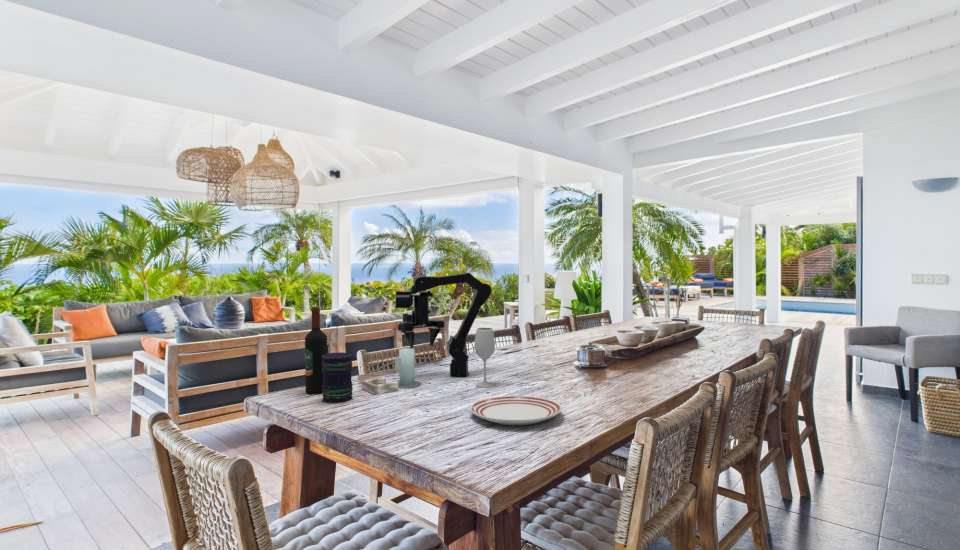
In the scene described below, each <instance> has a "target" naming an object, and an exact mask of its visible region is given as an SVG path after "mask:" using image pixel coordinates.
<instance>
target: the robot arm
mask: <svg viewBox="0 0 960 550" xmlns="http://www.w3.org/2000/svg"><path fill="white" fill-rule="evenodd" d="M464 283H465V284H467V285H468V286H469V287H470V288H471V289H473V293H472V298H471V302H470V305H469V307H468V309H467V312H466V314H465V315H464V317H463V320H462V322H461V324H460V326H459V328H458V330H457V332H456V333H455V335H451V334H450V336H449V339H448V341H447V342H446V351H447V353H448V354H449V355H450V356H451V358H452V359H451V360H450V361H451V362H450V364H449V374H450V375H449V376H450V377H460V378H461V377H463V378H466V377H468V376H469V374H470V372H469V355H468V354H467V353H466V352H465V351H464V350H465V346H466V341H467V337H468V334H469V332H470V331H471V329H472V327H473V325H474V323H475V320H476V318H477V315H478V314H479V312H480V310H481V308H482V306H483V305H484V304H485V303H486V302H487V300H488V299H489V298H490V296H491V295H492V292H493V290H492V287H491V285H489V283H484V282H482V281H480V279H478V278H477V277H475V276H474V275H473V274H472V273H471V272H464V273H462V272H461V273H455V274H449V275H440V276H429V275H428V276H427V275H419V276H417V277H415V279H414V280H413V285H412V287H410V288H409V290H407V291H406V290H404V291H400V290H396V291H395V298H394V299H395V300H394V306H395V307H394V308H395V309H410V308H411V306H413V309H412V310H411V311H412V312H411V314H409V313H403V314H402V322H399V323H398V324H397V331H400V333H403V334H404V335H405V337H406V340H407V342H408V344H409V348H414V343H415V334H416V333H415V331H414V329H424V328H427V329H428V331H429V346H430V347H433V345H434V343H435V341H436V340H437V337H438V335H439V333H440V332H441V331H442V330H443V328H445V322H444V320H442V319H430V320H429V318H430V314H431V312H432V311H431V309H430V308H429V307H430V306H429V305H430V304H429V303H430V302H429V300H430V299H429V297H434V295H435V294H433V293H432V292H431V290H430V289H433V288H436V287H437V288H438V287H439V286H440V287H441V286H447V285H455V284H464ZM425 291H426V292H425ZM417 293H419V294H417ZM429 309H430V310H429Z"/></svg>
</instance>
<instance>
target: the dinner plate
mask: <svg viewBox="0 0 960 550" xmlns="http://www.w3.org/2000/svg"><path fill="white" fill-rule="evenodd" d="M562 410H563V407H562V406H561V404H560V403H559V402H557V401H554V400H551V399H548V398H544V397H538V396H529V395H502V396H501V395H499V396H493V397H487V398H483V399H480V400H477V401H473V403H471V404H470V406H469V411H470V413H472V414H474V416H477V417H478V418H479V419H480V418H481V419H483V420H487V421H488V422H491V423H494V424H498V425H505V426H526V425H527V426H529V425H533V424H534V425H535V424H537V423H541V422H543V421H547V420H549V419H551V418H553V417H555V416H557V415H559V414H560V413H561V412H562Z"/></svg>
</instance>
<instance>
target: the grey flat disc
mask: <svg viewBox="0 0 960 550" xmlns="http://www.w3.org/2000/svg"><path fill="white" fill-rule="evenodd" d="M397 382H398V389H399V388H410V389H416V388H419V387H421V386H422V385H421V384H422V382H421V381H419V380H415V384H414V385H410V386H403V385H400V382H399V380H398V381H397ZM420 385H421V386H420ZM418 386H419V387H418ZM415 387H416V388H415Z"/></svg>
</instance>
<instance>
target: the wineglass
mask: <svg viewBox="0 0 960 550" xmlns="http://www.w3.org/2000/svg"><path fill="white" fill-rule="evenodd" d="M494 333H495V332H494V329H493V328H491V327H479V328H478V327H477V328H476V331H475V336H474V352H475V354H477V356H478V357H479V359H481V360H482V361H483V380H482V381H480V382H476V383H475V385H476V386H475V387H477V386H478V388H493V387H494V386H495V383H493V382H490V381H489V382H488V381H487V380H488V379H487V371H486V370H487V360H488V359H490V357H491V358H492V355H493V354H494V353H495V349H496V341H495V334H494Z"/></svg>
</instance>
